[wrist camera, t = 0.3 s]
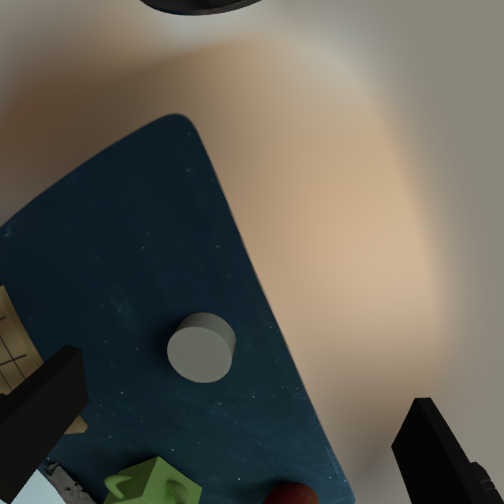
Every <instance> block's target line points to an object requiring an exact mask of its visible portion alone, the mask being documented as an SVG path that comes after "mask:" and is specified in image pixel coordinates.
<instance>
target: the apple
mask: <svg viewBox="0 0 504 504" xmlns="http://www.w3.org/2000/svg"><path fill="white" fill-rule="evenodd" d="M263 504H319V500H318V496H317V494H316V493H315V492H314V491H313V490H312V489H311V488H309V487H308V486H306V485H304V484H301V483H296V482H288V483H284V484H281V485H279V486H277V487H276V488H274V489H273V490H272V491H271V492H270V493H269V494H268V495H267V496H266V498H265V500H264V502H263Z"/></svg>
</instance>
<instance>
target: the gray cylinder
mask: <svg viewBox="0 0 504 504" xmlns="http://www.w3.org/2000/svg"><path fill="white" fill-rule="evenodd" d="M235 346H236V338H235V334H234V332H233V330H232V328H231V327H230V325H229V324H228V323H227V322H226V321H225V320H223V319H222V318H220V317H219V316H216V315H214V314H211V313H204V312H202V313H195V314H191V315H189V316H187V317H186V318H185V319H184V320H183V321H182V322H181V323H180V325H179V326H178V328H177V329H176V331H175V332H174V334H173V335H172V337H171V338H170V340H169V343H168V347H167V354H168V358H169V361H170V363H171V365H172V366H173V368H174V369H175V370H176V371H177V372H178V373H179V374H180V375H182V376H183V377H185V378H187V379H189V380H192V381H195V382H201V383H208V382H213V381H216V380H218V379H220V378H222V377H223V376H224V375H225V374H226V373H227V372H228V371H229V369H230V366H231V363H232V359H233V355H234V351H235Z"/></svg>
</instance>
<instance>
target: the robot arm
mask: <svg viewBox="0 0 504 504" xmlns="http://www.w3.org/2000/svg"><path fill="white" fill-rule="evenodd" d="M88 403H89V398H88V393H87V387H86V380H85V374H84V367H83V359H82V351H81V349H79V348H76V347H73V346H70V345H67V344H66V345H65V346H64V347H62V348H61V349H60V350H59V351H58V352H56V353H55V354H54V355H53V356H52V357H51V358H49V359H48V360H47V361H46V362H45V363H43V364H42V365H41V366H40V367H39V368H38V369H36V370H35V371H34V372H33V373H32V374H31V375H30V376H28V377H27V378H26V379H25V380H24V381H23V382H21V383H20V384H19V385H18V386H17V387H16V388H15V389H13V390H12V391H11V392H10V393H9V394H8V395H5V394H4V393H1V394H0V499H1V500H2V501H4V502H5V503H7V504H11V503H12V501H13V500H14V499H15V497H16V496H17V495H18V493H19V492H20V490H21V489H22V488H23V487H24V485H25V484H26V483H27V481H28V480H29V479H30V477H31V476H32V475H33V473H34V472H35V471H36V469H37V468H38V467H39V465H40V464H41V463H42V461H43V460H44V459H45V458H46V456H47V455H48V454H49V452H50V451H51V450H52V448H53V447H54V446H55V445H56V443H57V442H58V441H59V439H60V438H61V437H62V436H63V434H64V433H65V432H66V431H67V429H68V428H69V427H70V425H71V424H72V423H73V422H74V420H75V419H76V418H77V417H78V415H79V414H80V413H81V412H82V410H83V409H84V408H85V407H86V405H87V404H88ZM391 447H392V450H393V453H394V455H395V458H396V461H397V464H398V466H399V469H400V472H401V475H402V477H403V480H404V483H405V485H406V489H407V492H408V494H409V497H410V500H411V503H412V504H504V502H503V500H502V498H501V496H500V494H499V493H498V491H497V489H495V486H494V484H493V482H491V479H490V477H489V475H488V474H487V472H486V470H485V469H484V468H483V467H482V466H480V465H479V464H478V463H477V462H472V463H470V461H469V460H468V458H467V456H466V455H465V453H464V451H463V450H462V448H461V446H460V444H459V443H458V441H457V439H456V438H455V436H454V435H453V433H452V431H451V429H450V428H449V426H448V425H447V423H446V421H445V420H444V418H443V417H442V415H441V414H440V412H439V410H438V409H437V407H436V405H435V404H434V402H433V401H432V399H431V398H415V399H414V401H413V403H412V405H411V408H410V410H409V412H408V414H407V416H406V418H405V420H404V422H403V424H402V426H401V428H400V430H399V432H398V434H397V436H396V438H395V440H394V442H393V444H392V446H391Z"/></svg>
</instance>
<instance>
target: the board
mask: <svg viewBox="0 0 504 504" xmlns="http://www.w3.org/2000/svg"><path fill="white" fill-rule="evenodd" d="M43 363H44V362H43V360H42V359H41V357H40V355H39V353H38V352H37V350H36V348H35V347H34V345H33V343H32V341H31V340H30V338H29V336H28V334H27V332H26V330H25V328H24V327H23V325H22V323H21V321H20V319H19V317H18V315H17V313H16V311H15V309H14V307H13V305H12V303H11V300H10V298H9V296H8V294H7V292H6V290H5V287H4V285H2V286H0V394H1V393H4V394H5V395H8V394H9V393H10V392H11V391H12V390H13V389H15V388H16V387H17V386H18V385H19V384H20V383H21V382H23V381H24V380H25V379H26V378H27V377H28V376H30V375H31V374H32V373H33V372H34V371H35V370H36V369H38V368H39V367H40V366H41V365H42V364H43ZM87 428H88V425H87V424H86V423H85V422H84V420H83V419H82V418H81V416H80V415H78V417H77V418H76V419H75V420H74V422H73V423H72V424H71V425H70V427H69V428H68V429H67V431H66V432H65V433H64V434H71V433H82V432H85V430H86V429H87Z"/></svg>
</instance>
